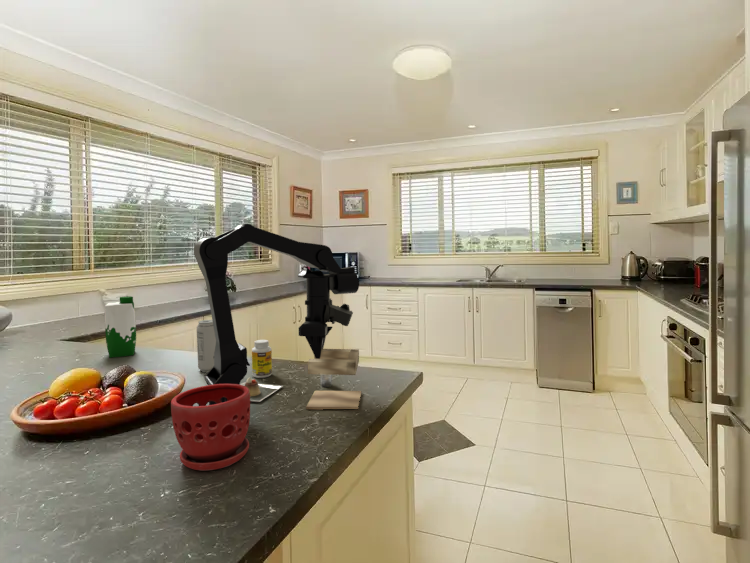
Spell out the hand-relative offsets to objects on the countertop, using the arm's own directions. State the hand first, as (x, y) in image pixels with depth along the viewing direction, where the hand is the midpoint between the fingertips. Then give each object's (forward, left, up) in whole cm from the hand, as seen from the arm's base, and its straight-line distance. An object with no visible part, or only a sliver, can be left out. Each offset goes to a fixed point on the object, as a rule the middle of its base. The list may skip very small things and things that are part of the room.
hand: (318, 357), depth 108 cm
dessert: (+1, +18, -11) cm, 21 cm away
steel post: (+8, -1, -10) cm, 12 cm away
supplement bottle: (+16, +19, -10) cm, 27 cm away
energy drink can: (+21, +37, -10) cm, 44 cm away
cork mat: (-4, -5, -10) cm, 11 cm away
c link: (-4, -5, -1) cm, 6 cm away
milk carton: (+38, +76, -10) cm, 85 cm away
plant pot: (-32, +13, -10) cm, 37 cm away
